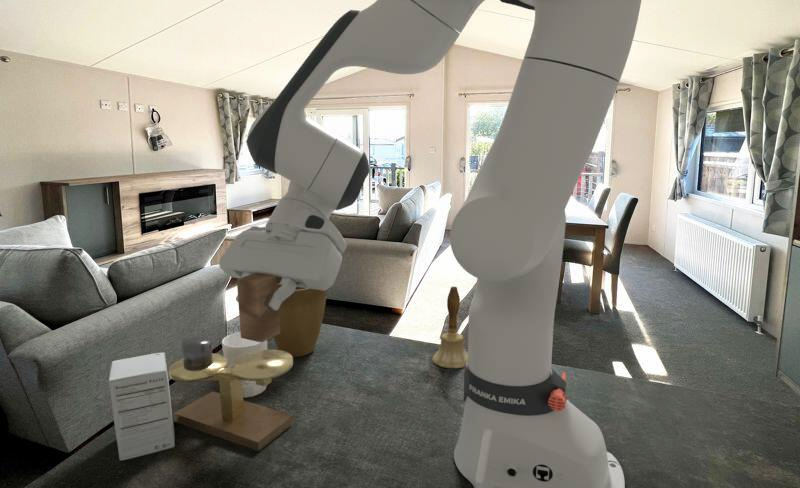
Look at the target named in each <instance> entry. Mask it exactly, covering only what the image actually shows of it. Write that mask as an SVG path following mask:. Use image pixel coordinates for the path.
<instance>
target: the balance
mask: <svg viewBox="0 0 800 488" xmlns="http://www.w3.org/2000/svg"><path fill="white" fill-rule="evenodd" d="M212 347H213V346H212V339H211V338H210V337H208V336H196V337H191V338H188V339H186V340H184V341H183V342H181V350H182V351H181V352H182V358H180V359H178V360H176V361H175V362H173V363H172V364H170V366H169V367H168V369H167V372H168V378H170V379H171V380H173V381H176V382H180V383H193V382H195V383H196V382H201V381H218V383H219V384H218V385H219V392H216V391H211V392H209V393H206V394H205V395H204V396H202V397H200V398H198V399H196V400H194V401H193V402H191V403H189V404H187V405H186V406H184V407H182V408H180V409H179V410H177V411H175V412H174V413H173V423H177V424H180V425H182V426H183V425H184V426H186V427H188V428H191V429H194V430H196V431H197V430H198V431H200V432H203V433H206V434H209V435H211V436H214V437H217V438H219V439H223V440H225V441H228V442H232V443H234V444H237V445H240V446H243V447H245V448H247V449H248V448H249V449H251V450H254V451H256V452H260V451H261V450H262V449H264V448H265V447H267V446H268V445H269V444H270V443H271V442H273V441H274V440H276V438H277V437H280V435H281V434H283V433H284V432H285V431H286V430H287V429H289V428H290V427H291V426H293V425H294V424H295V421H294V415H293V414H291V413H287V412H284V411H282V410H277V409H275V408H274V409H273V408H270V407H267V406H263V405H260V404H258V403H254V402H252V401H251V402H250V401H248V400H247V401H246V400H244V398H243V390H242V381H256V384H257V385H260V386H266V385H267V386H268V385H269V384H271V383H272V379H275V378H277V377H280V376H283V375H284V374H287V373H288V372H289V371H291V369H292V368H293V365H294V357H292V355H291V354H289V353H288V352H285V351H281V350H279V349H267V350H260V351H254V352H250V353H247V354H244V355H242V356H240V357H238V358H237V359H235V360H234V361H233V362H232V364H231V368H227V367H228V361H227V358H226V357H225V356H224V355H223V354H221V353H213V350H212V349H213V348H212Z"/></svg>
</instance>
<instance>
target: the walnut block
mask: <svg viewBox="0 0 800 488" xmlns="http://www.w3.org/2000/svg"><path fill="white" fill-rule="evenodd" d="M236 286H237V295H238V302H237V303H238V313H239V327H240V328H239V332H241V338H244V339H248V340H252V341H257V342H261V343H262V342H264V341H266V340H267V341H268V340H270V339H272V338H273V337H274V336H276V335H278V334H280V320H279V309H278V310H277V311H276V310H271V309H268V308H267V307H265V306H264V302H265V300H267V296H268V294H274V293H275V292H276V291H277V290H278V283H277V276H272V275H265V274H258V273H255V274H251V275H248V276H245V277H242V278H236Z"/></svg>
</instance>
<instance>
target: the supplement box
mask: <svg viewBox="0 0 800 488" xmlns="http://www.w3.org/2000/svg"><path fill="white" fill-rule="evenodd" d="M169 383H170V381H169V372H168V367H167V360H166V353H165V352H156V353H150V354H145V355H144V354H143V355H139V356H134V357H128V358H121V359H117V360H113V361H112V362H111V365H110V370H109V378H108V386H109V391H110V392H109V393H110V400H111V406H112V407H111V408H112V416H113V423H114V428H115V429H114V431H115V438H116V443H117V445H116V446H117V449H118V458H119V461H122V462H123V461H126V460H130V459H134V458H138V457H143V456H145V455H150V454H154V453H157V452H162V451H164V450H168V449H173V448H174V447H175V445H176V443H175V441H176V440H175V439H176V438H175V427H174V426H175V425H174V415H173V409H172V399H171V390H170V389H171V388H170V384H169Z"/></svg>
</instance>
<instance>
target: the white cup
mask: <svg viewBox="0 0 800 488" xmlns="http://www.w3.org/2000/svg"><path fill="white" fill-rule="evenodd" d="M221 346H222V355H223V356H225V357H226V358H227V361H228V367H227V368H231V364H232V362H233V361H234V360H235V359H237V358H238V357H240V356H242V355H244V354H247V353H250V352H254V351H260V350H268V340H266V341H264V342H262V343H261V342H257V341H252V340H248V339H244V338H241V331H237V332H234V333H230V334H229V335H226V336H224V338H223V339H222V340H221ZM267 386H268V384H267V385H266V386H260V385H257V384H256V381H242V390H243V399H244V398H246V399H247V398H251V397H255V396H258V395H260V394H262V393H264V392H265V391H266V389H267Z"/></svg>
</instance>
